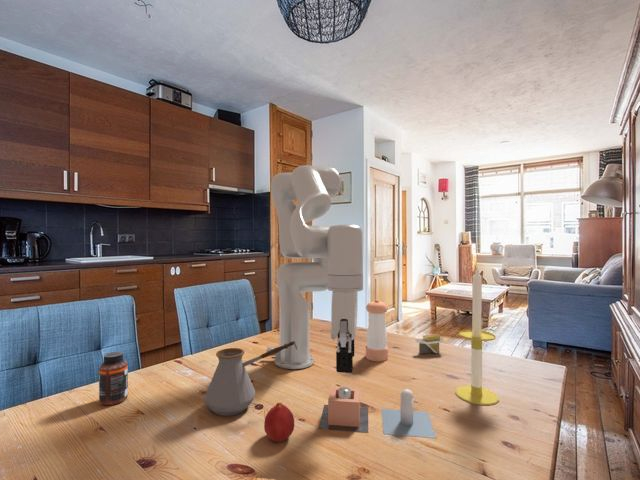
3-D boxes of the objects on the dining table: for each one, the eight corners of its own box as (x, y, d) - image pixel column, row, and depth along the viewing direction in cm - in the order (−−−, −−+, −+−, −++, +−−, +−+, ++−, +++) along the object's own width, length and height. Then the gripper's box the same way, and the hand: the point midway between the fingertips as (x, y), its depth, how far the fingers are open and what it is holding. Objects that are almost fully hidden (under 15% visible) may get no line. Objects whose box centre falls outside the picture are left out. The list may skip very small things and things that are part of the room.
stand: (318, 433, 69) (318, 399, 68) (324, 409, 78) (324, 378, 78) (368, 437, 67) (368, 402, 67) (368, 412, 77) (368, 381, 77)
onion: (265, 434, 68) (265, 394, 68) (294, 433, 69) (294, 393, 69) (262, 452, 62) (263, 409, 62) (294, 451, 63) (294, 408, 63)
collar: (328, 424, 70) (328, 400, 70) (331, 409, 76) (331, 386, 76) (359, 427, 69) (359, 402, 69) (359, 411, 76) (360, 388, 76)
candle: (470, 406, 80) (470, 268, 79) (447, 388, 89) (448, 264, 89) (508, 403, 81) (509, 267, 81) (482, 385, 91) (482, 264, 91)
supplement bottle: (133, 397, 84) (133, 351, 84) (111, 408, 79) (111, 359, 78) (115, 393, 86) (115, 348, 86) (93, 404, 81) (93, 356, 80)
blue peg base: (383, 438, 67) (383, 399, 67) (381, 413, 77) (381, 378, 77) (436, 443, 65) (436, 402, 65) (427, 416, 75) (427, 381, 75)
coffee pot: (198, 421, 73) (198, 351, 73) (210, 396, 84) (210, 336, 84) (298, 416, 75) (298, 349, 75) (296, 393, 86) (296, 334, 86)
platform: (464, 358, 113) (464, 338, 113) (417, 363, 108) (418, 343, 108) (441, 346, 125) (442, 329, 125) (398, 351, 120) (398, 333, 119)
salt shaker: (391, 356, 113) (391, 299, 113) (382, 363, 107) (383, 302, 107) (371, 352, 117) (371, 297, 117) (361, 358, 111) (362, 300, 111)
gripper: (331, 278, 82) (332, 350, 81) (322, 287, 64) (323, 378, 64) (363, 279, 81) (364, 351, 80) (362, 287, 63) (363, 380, 63)
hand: (346, 363), depth 72 cm, fingers open, 9 cm apart
